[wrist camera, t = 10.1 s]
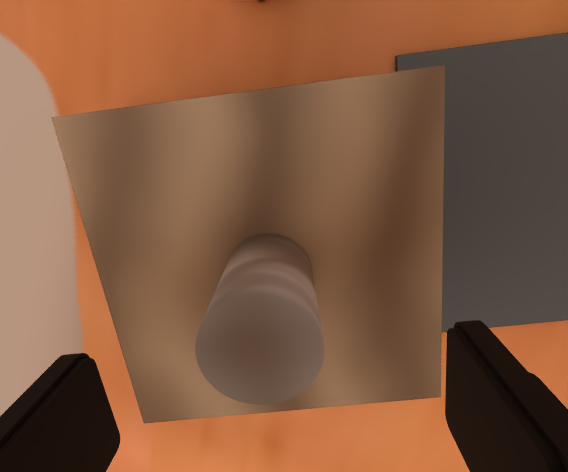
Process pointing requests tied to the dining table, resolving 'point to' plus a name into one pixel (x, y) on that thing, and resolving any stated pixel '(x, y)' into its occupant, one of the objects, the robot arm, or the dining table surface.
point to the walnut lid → (270, 242)
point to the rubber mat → (504, 180)
